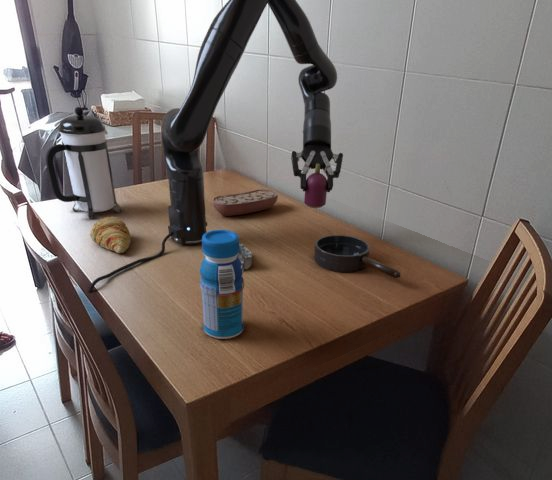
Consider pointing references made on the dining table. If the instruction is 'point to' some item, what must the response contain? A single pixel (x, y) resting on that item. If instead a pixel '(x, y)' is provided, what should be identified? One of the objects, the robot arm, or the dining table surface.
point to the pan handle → (381, 267)
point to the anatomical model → (245, 202)
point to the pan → (340, 253)
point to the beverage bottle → (222, 284)
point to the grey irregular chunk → (244, 256)
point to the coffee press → (84, 164)
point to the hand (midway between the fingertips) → (316, 190)
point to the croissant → (111, 234)
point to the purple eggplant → (316, 189)
